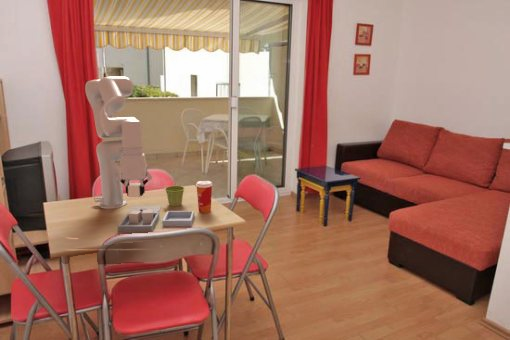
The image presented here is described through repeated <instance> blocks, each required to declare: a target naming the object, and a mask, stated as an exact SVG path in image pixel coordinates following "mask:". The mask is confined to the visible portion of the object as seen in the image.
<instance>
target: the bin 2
mask: <svg viewBox="0 0 510 340" xmlns="http://www.w3.org/2000/svg"><path fill="white" fill-rule="evenodd" d="M194 218H195V210H167V211H166V213H165V214H164V217H163V218H162V222H161V223H162V227H192V225H193V223H194Z"/></svg>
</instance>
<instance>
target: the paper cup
mask: <svg viewBox="0 0 510 340" xmlns="http://www.w3.org/2000/svg"><path fill="white" fill-rule="evenodd" d="M195 186H196V194H197V195H196V196H197V207H198V213H201V214H208V213H210V212H211V211H212V194H213V193H212V192H213V191H212V189H213V182H212V181H209V180H199V181H197V182H196V183H195Z"/></svg>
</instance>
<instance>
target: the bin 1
mask: <svg viewBox="0 0 510 340" xmlns="http://www.w3.org/2000/svg"><path fill="white" fill-rule="evenodd" d="M127 213H128V212H127ZM127 213H126V214H127ZM126 214H125V215H126ZM125 215H124V217H123V219H122V220H121V221H120V222H119V224H118V225H117V232H118V233H146V232H147V233H149V232H150V233H152V232H153V231H154V229H155V228H156V226H157V223H158V222H159V220H160V212H158V213H154V219H153V221H152V223H143V221H142V220H141V221H140V222H139V223H129V213H128V214H127V215H126V216H125Z"/></svg>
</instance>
